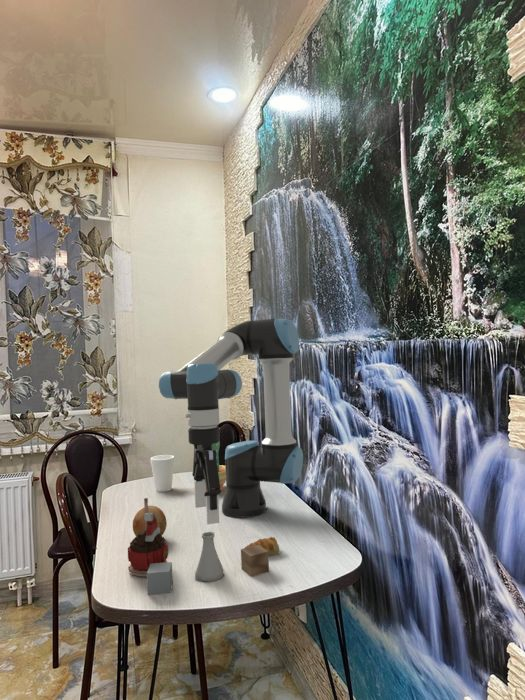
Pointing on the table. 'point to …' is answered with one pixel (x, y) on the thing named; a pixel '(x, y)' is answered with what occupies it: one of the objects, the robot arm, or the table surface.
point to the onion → (140, 522)
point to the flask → (209, 560)
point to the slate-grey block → (159, 578)
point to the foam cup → (162, 472)
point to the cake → (147, 546)
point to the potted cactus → (219, 466)
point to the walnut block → (254, 560)
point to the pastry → (267, 545)
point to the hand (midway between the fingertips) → (206, 514)
